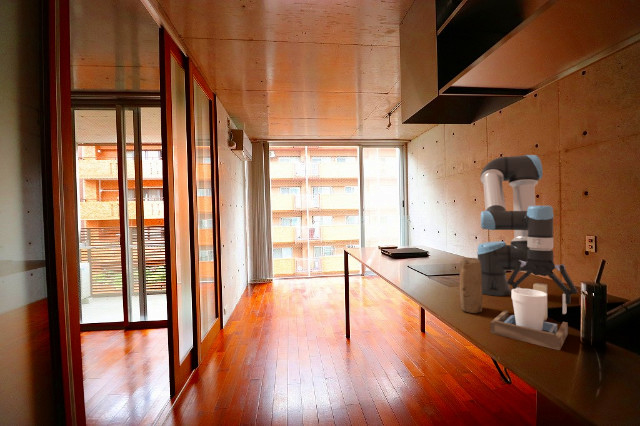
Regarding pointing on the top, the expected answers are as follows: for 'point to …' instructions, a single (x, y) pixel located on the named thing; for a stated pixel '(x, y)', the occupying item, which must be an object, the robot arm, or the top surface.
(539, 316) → the foam cup
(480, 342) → the top surface
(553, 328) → the tray
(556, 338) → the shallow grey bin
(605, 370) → the top surface
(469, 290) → the block
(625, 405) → the top surface
